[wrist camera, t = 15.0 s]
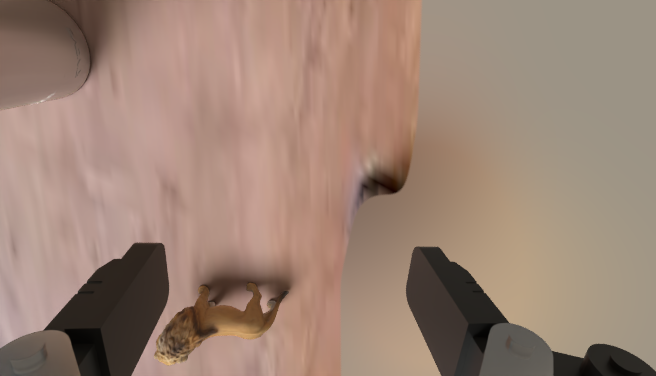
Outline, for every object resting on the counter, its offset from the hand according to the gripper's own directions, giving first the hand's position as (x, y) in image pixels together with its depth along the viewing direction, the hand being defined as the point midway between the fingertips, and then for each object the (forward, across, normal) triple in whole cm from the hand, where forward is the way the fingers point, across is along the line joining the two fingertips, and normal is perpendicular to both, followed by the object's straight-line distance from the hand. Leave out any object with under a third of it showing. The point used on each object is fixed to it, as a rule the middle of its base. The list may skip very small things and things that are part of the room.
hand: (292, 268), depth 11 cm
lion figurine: (+28, +7, +24) cm, 38 cm away
